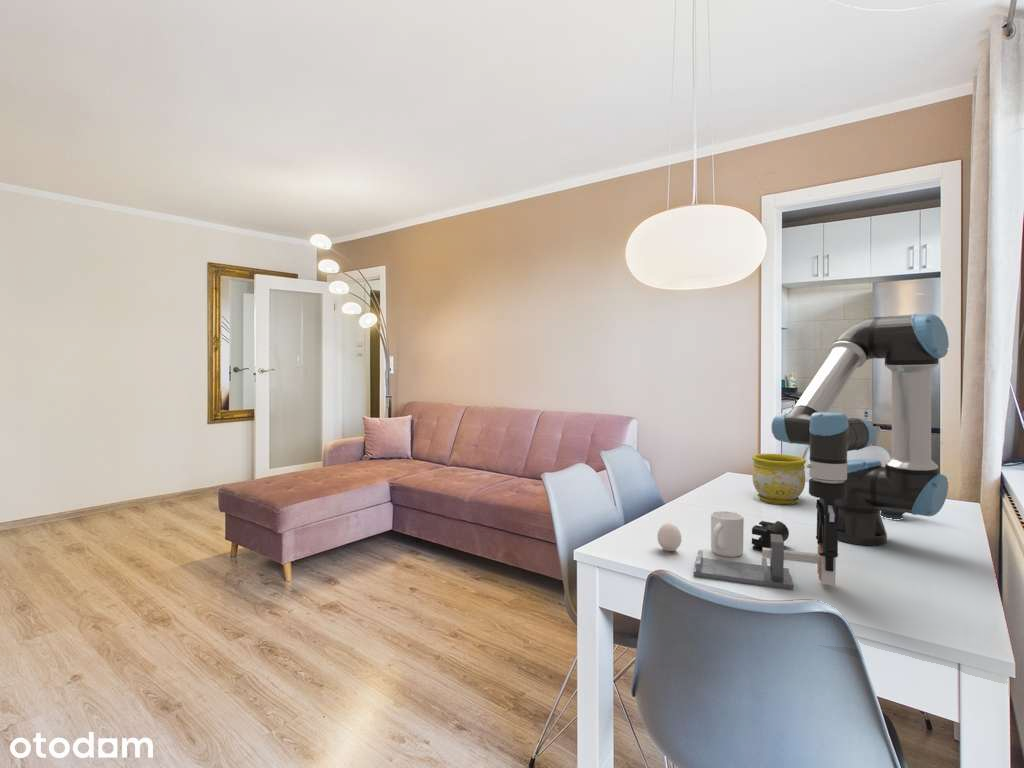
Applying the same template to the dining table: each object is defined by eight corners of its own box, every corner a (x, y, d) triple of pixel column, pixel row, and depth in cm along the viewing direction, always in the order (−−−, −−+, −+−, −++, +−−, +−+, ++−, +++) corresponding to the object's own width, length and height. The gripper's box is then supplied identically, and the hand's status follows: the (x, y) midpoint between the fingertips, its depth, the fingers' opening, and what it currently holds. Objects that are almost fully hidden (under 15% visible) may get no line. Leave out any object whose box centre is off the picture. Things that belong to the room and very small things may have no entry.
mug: (728, 563, 138) (729, 524, 138) (698, 555, 144) (699, 517, 144) (748, 552, 146) (748, 515, 146) (719, 544, 152) (719, 509, 152)
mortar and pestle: (872, 518, 178) (872, 482, 177) (875, 512, 185) (876, 477, 184) (914, 524, 170) (915, 487, 170) (916, 517, 178) (916, 482, 177)
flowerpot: (815, 507, 192) (816, 461, 191) (765, 507, 192) (765, 461, 191) (789, 494, 210) (790, 453, 209) (744, 494, 210) (744, 453, 209)
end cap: (778, 555, 144) (778, 531, 143) (751, 549, 148) (751, 525, 148) (789, 546, 151) (789, 522, 151) (762, 540, 156) (762, 517, 156)
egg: (686, 551, 147) (686, 523, 147) (671, 556, 143) (671, 527, 143) (667, 545, 152) (667, 517, 152) (652, 549, 148) (652, 521, 148)
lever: (831, 578, 124) (831, 544, 124) (833, 582, 122) (833, 548, 122) (762, 569, 130) (762, 537, 130) (762, 573, 127) (763, 540, 127)
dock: (788, 573, 131) (789, 533, 131) (792, 590, 122) (793, 546, 121) (696, 561, 140) (696, 523, 139) (693, 576, 130) (694, 535, 129)
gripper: (804, 470, 133) (802, 562, 134) (814, 486, 116) (813, 591, 116) (839, 473, 130) (837, 566, 131) (855, 489, 113) (853, 597, 114)
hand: (826, 578), depth 124 cm, fingers open, 5 cm apart
